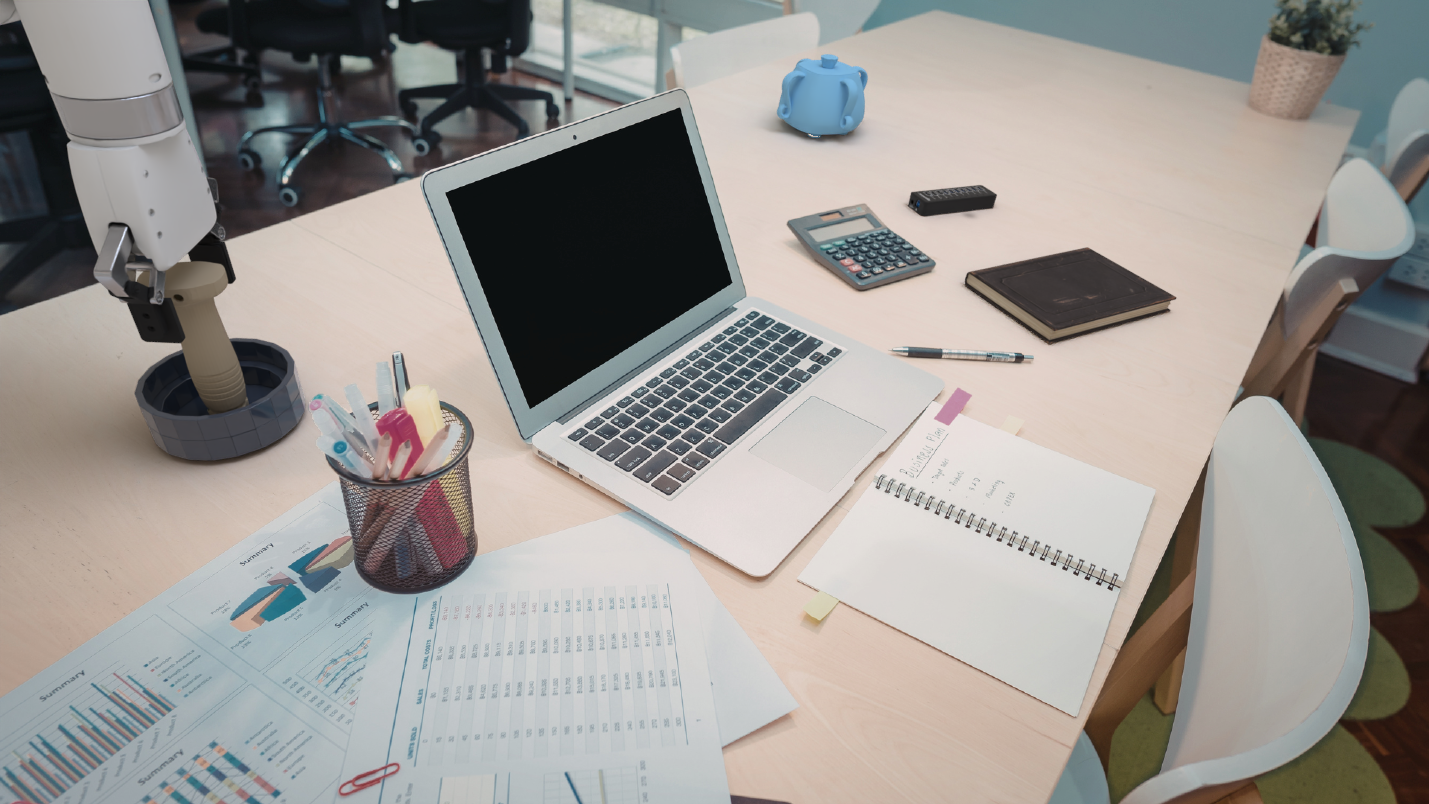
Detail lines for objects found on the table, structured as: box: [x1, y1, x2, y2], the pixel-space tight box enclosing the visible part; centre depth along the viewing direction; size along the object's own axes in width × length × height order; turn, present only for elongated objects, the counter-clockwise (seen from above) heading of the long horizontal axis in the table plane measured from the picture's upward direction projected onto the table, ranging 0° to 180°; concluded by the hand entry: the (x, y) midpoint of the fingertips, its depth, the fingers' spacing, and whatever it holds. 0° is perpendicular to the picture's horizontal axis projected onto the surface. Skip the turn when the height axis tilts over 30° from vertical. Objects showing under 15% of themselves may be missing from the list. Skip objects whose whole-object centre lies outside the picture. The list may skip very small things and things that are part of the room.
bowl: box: [134, 337, 306, 461], centre depth 76 cm, size 13×13×5 cm
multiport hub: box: [907, 184, 998, 217], centre depth 132 cm, size 4×14×2 cm, turn 113°
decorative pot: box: [776, 53, 869, 139], centre depth 155 cm, size 16×16×14 cm
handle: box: [136, 261, 249, 415], centre depth 73 cm, size 5×6×15 cm
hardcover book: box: [964, 246, 1178, 345], centre depth 110 cm, size 16×23×2 cm
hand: (192, 309), depth 70 cm, fingers open, 9 cm apart
